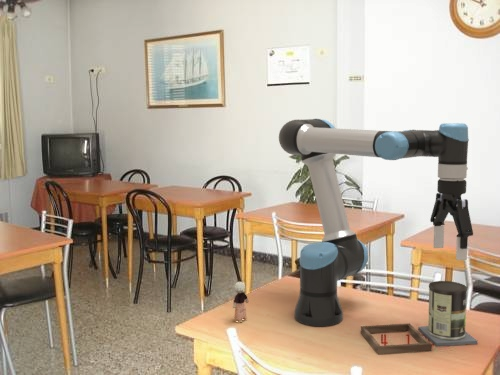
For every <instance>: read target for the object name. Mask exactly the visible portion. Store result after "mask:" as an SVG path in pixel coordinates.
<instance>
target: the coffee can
mask: <svg viewBox="0 0 500 375" xmlns="http://www.w3.org/2000/svg"><path fill="white" fill-rule="evenodd" d="M428 290H429V291H428V325H427V326H428V332H429V334H430V335H432V336H434V337H437V338H440V339H446V340H458V339H462V338H464V337H465V331H466V318H467V317H466V314H467V291H468V287H467V286H466V285H465V284H464V283H460V282H455V281H452V280H451V281H449V280H437V281H436V280H435V281H432V282H430V283H429V284H428Z"/></svg>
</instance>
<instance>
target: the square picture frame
mask: <svg viewBox="0 0 500 375" xmlns="http://www.w3.org/2000/svg"><path fill="white" fill-rule="evenodd" d="M398 332H399V333H403V332H404V333H405V332H408V334H410V335H411V336H412V337H413V338H414V339H415V340H416V341H417V342H418V343H405V344H390V345H388V344H386V345H380V343H379V341H377V340H376V338H375V337H374V336H373V335H372V334H386V333H398ZM360 334H361V335H362V336H363V337H364V339H365V340H366V341H367V342H368V344H369V345H370V346H371V348H372V349H373V350H374V352H376V354H377V355H391V354H393V355H395V354H406V353H408V354H409V353H411V354H412V353H422V352H423V353H425V352H432V351H433V346H432V345H433V343H432V342H431V341H430V340H428V339H427V338H426V337H425V336H424V335H423V334H422V333H421V332H420V331H419V330H418V329H416V328H415V327H414V326H413V325H412V324H411V323H410V322H409V323H395V324H394V323H393V324H392V323H391V324H377V325H373V324H372V325H362V326H360Z"/></svg>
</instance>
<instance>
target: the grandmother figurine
mask: <svg viewBox="0 0 500 375" xmlns="http://www.w3.org/2000/svg"><path fill="white" fill-rule="evenodd" d="M245 289H246V285H245V283H244V282H242V281H238V282H236V283H235V284H234V290H235V292H236V293H237V294H235V296H234V299H233V302H232V303H233V304H232V309H234V316H233V317H234V319H235V320H234V322H235V321H238V322H243V323H244V321H243V320H242V319H244V320H246V319H247V320H248V318H247V310H246V305H245V303H248V304H249V298H248V296H247V294H246V293H245V292H244V291H245ZM247 320H246V321H247Z"/></svg>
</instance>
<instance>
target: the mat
mask: <svg viewBox="0 0 500 375" xmlns="http://www.w3.org/2000/svg"><path fill="white" fill-rule="evenodd" d="M417 331H418V332H419V333H420V334H422V335H423V336H424V337H425V338H426V339H427V340H428V341H429V342H430V343H431V344H432V345H434V346H435V347H436V348H438V347H451V346H452V347H454V346H455V345H456V346H466V345H465V344H471V345H478V340H477V339H476V338H475V337H473V336H472V335H471V334H469V333H468V332H467V331H466V330H465V337H464V338H462V339H458V340H446V339H440V338H437V337H434V336H432V335H430V334H429V332H428V325H425V326H418V327H417Z"/></svg>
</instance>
